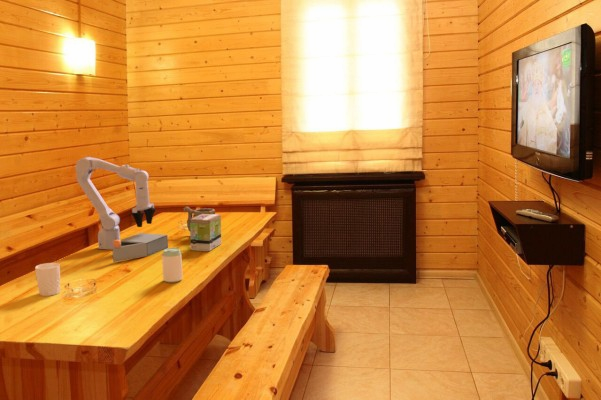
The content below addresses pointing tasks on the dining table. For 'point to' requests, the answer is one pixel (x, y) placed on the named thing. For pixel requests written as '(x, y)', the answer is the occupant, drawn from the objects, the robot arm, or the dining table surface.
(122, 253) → the grey drawer
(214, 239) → the tea box
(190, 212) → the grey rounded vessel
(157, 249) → the carton
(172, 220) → the dining table surface
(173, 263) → the can
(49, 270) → the white cup
